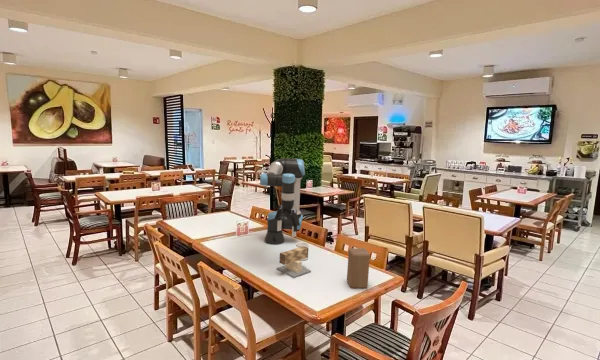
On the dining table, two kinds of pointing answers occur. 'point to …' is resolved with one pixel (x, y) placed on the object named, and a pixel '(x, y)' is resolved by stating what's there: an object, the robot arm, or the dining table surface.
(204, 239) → the dining table surface
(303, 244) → the cup
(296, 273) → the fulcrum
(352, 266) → the wooden block
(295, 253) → the oak bar
